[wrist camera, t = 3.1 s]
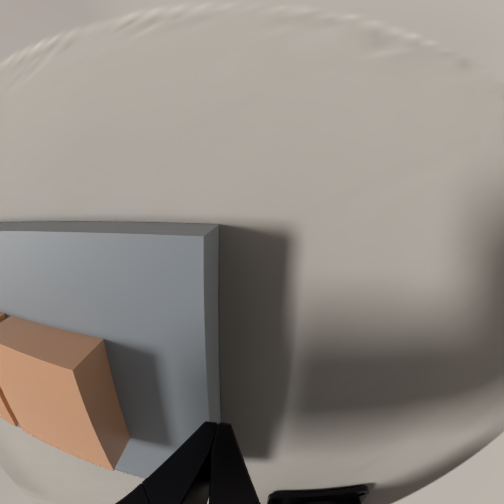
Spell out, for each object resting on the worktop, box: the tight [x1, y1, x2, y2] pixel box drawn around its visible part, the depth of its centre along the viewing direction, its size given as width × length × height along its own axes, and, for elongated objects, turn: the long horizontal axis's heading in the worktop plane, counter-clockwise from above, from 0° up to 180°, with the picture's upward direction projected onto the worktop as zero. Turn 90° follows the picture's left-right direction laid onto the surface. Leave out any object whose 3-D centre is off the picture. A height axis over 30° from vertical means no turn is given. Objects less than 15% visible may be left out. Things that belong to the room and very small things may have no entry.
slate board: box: [0, 221, 221, 479], centre depth 10 cm, size 16×12×2 cm
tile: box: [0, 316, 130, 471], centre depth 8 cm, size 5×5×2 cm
